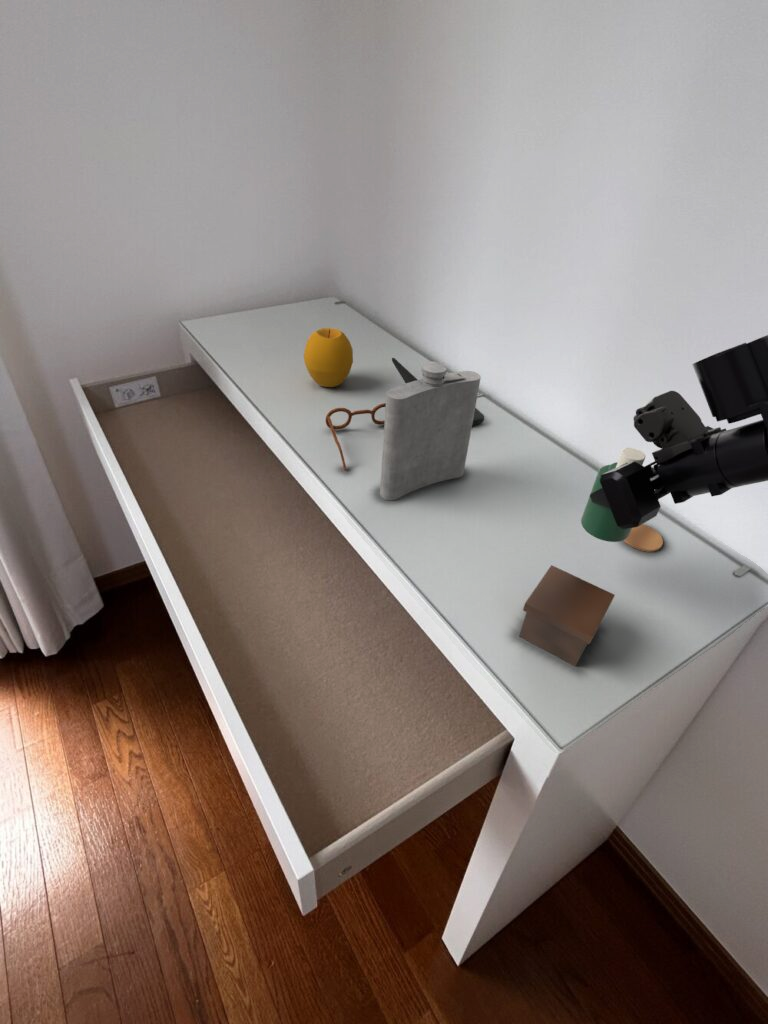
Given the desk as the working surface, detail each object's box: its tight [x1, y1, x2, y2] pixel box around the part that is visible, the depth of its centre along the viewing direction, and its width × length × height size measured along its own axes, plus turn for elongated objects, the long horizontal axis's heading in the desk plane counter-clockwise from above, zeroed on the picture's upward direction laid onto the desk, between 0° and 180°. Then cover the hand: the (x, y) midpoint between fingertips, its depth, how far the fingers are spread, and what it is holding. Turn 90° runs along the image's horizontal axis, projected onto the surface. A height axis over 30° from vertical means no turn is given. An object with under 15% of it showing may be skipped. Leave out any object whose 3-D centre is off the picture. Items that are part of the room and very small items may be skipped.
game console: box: [391, 357, 485, 426], centre depth 108 cm, size 16×14×9 cm
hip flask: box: [379, 361, 482, 501], centre depth 86 cm, size 16×4×20 cm, turn 122°
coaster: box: [623, 523, 664, 553], centre depth 85 cm, size 6×6×1 cm
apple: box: [303, 327, 354, 388], centre depth 113 cm, size 10×10×12 cm
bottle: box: [580, 447, 646, 543], centre depth 69 cm, size 6×6×11 cm
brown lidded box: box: [518, 565, 616, 667], centre depth 68 cm, size 8×8×6 cm
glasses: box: [325, 402, 386, 471], centre depth 98 cm, size 13×13×5 cm
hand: (608, 489), depth 70 cm, fingers closed on bottle, 6 cm apart
